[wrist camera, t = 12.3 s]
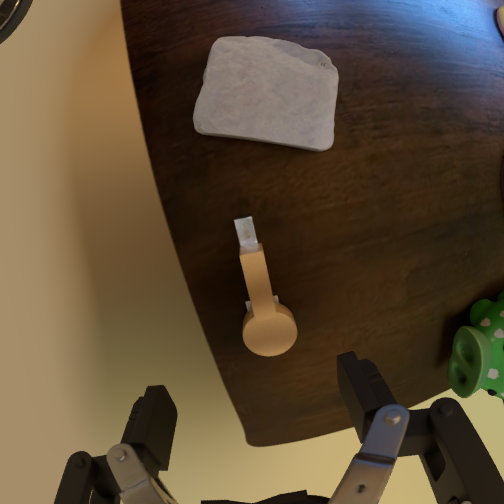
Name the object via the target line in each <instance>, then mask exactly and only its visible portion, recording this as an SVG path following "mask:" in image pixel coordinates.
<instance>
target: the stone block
mask: <svg viewBox="0 0 504 504" xmlns="http://www.w3.org/2000/svg"><path fill="white" fill-rule="evenodd" d="M338 79H339V78H338V72H337V68H336V67H334V66H333V65H332V63H331V59H330V58H329V57H327V56H326V55H325V54H324V53H322V52H321V51H319V50H311V49H306V48H303V47H302V46H300V45H299V44H296V43H292V42H288V41H285V40H278V39H271V38H267V37H258V36H254V37H248V38H247V37H244V36H240V37H221V38H219V39H218V40H217V41H216V42H215V43H214V44H213V46H212V48H211V51H210V53H209V57H208V62H207V67H206V69H205V72H204V76H203V82H204V84H203V86H202V88H201V92H200V95H199V97H198V99H197V101H196V105H195V109H194V114H193V122H194V127H195V130H196V131H197V132H198V133H201V134H202V135H210V136H219V137H229V138H237V139H245V140H252V141H259V142H266V143H272V144H279V145H285V146H291V147H296V148H301V149H306V150H311V151H318V152H322V151H325V150H328V149H329V148H331V146H332V144H333V139H334V132H333V129H334V113H335V105H336V97H337V86H338Z"/></svg>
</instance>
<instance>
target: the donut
mask: <svg viewBox="0 0 504 504" xmlns="http://www.w3.org/2000/svg"><path fill="white" fill-rule="evenodd" d="M497 22H498V25H499V28H500V30H501V32H502V34H503V36H504V6H501V7H499V9H498V10H497Z"/></svg>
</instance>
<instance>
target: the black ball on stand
mask: <svg viewBox="0 0 504 504" xmlns="http://www.w3.org/2000/svg"><path fill="white" fill-rule="evenodd" d="M501 191H502V196H503V201H504V157H503V161H502V166H501Z"/></svg>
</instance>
